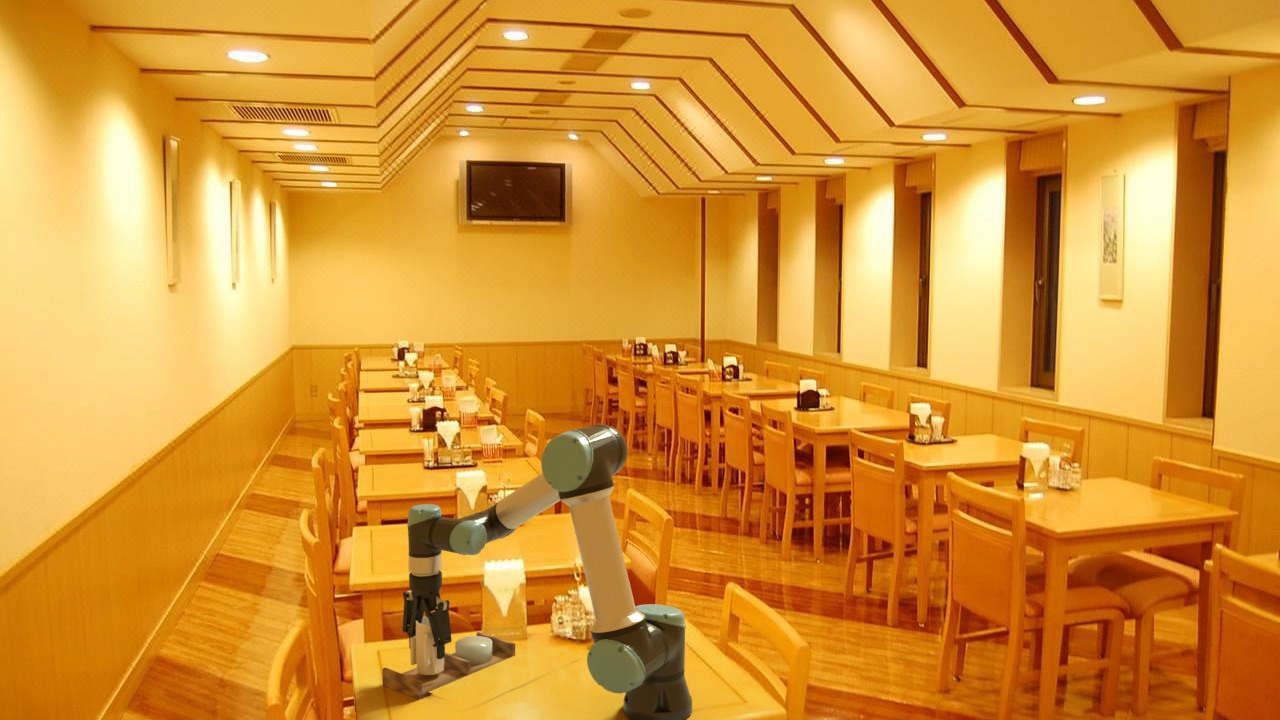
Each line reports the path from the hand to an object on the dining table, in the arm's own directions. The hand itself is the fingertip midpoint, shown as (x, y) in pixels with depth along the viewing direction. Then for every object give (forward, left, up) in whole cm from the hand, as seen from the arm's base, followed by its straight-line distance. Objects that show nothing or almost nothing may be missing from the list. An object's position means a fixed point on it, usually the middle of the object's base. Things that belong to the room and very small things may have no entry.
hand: (427, 667), depth 238 cm
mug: (-1, 0, -1) cm, 2 cm away
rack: (0, -7, -3) cm, 8 cm away
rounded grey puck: (0, -15, -2) cm, 15 cm away
